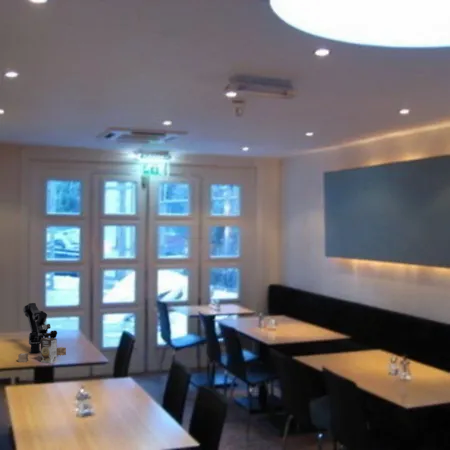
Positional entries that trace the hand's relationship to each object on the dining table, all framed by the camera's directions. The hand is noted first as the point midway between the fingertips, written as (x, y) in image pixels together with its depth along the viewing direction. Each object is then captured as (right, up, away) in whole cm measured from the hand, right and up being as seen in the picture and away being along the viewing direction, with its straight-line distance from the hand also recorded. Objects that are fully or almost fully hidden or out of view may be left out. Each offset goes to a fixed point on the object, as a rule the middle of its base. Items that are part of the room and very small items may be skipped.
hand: (45, 345), depth 418 cm
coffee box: (+4, -10, -7) cm, 13 cm away
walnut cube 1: (-14, -10, -5) cm, 18 cm away
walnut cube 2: (+7, -10, +15) cm, 19 cm away
